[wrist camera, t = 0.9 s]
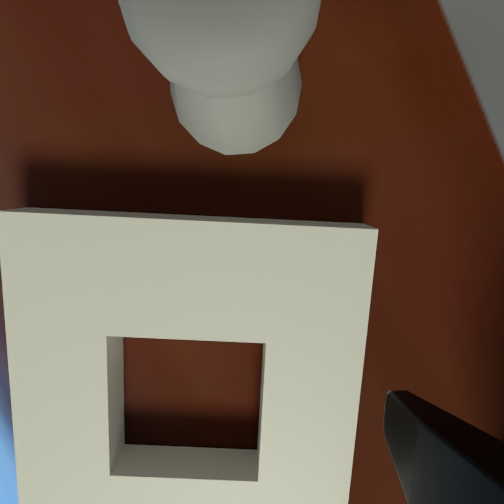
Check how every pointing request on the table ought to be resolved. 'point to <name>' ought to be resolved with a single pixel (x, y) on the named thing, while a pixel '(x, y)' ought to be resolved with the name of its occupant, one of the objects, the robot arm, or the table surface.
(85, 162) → the table surface
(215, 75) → the salt shaker
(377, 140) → the table surface
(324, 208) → the table surface
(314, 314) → the socket board
